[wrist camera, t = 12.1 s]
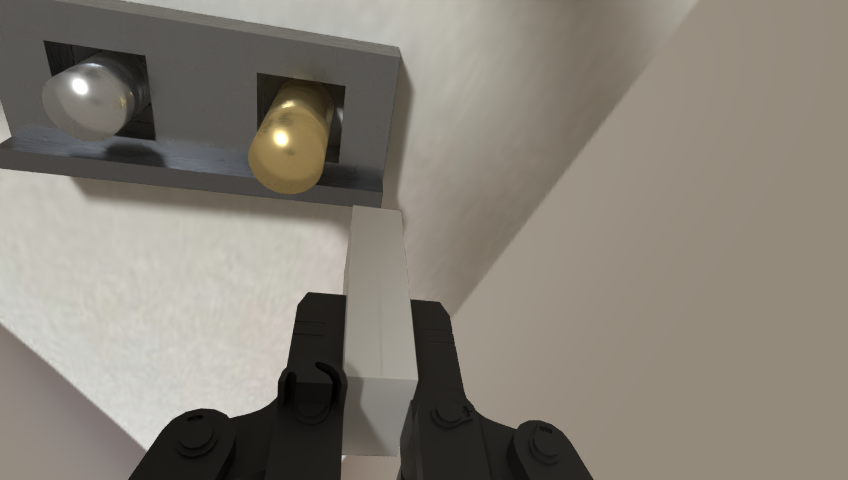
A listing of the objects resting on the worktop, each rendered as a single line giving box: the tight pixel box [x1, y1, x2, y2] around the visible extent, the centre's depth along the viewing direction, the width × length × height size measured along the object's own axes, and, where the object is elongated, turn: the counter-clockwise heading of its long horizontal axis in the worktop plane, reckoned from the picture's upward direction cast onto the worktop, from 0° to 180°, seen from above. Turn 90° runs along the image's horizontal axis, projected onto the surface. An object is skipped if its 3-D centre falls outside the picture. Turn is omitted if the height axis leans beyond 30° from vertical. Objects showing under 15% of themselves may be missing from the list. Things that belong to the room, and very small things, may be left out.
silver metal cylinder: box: [42, 50, 151, 142], centre depth 33 cm, size 4×4×6 cm
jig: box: [0, 0, 401, 208], centre depth 34 cm, size 11×26×5 cm, turn 80°
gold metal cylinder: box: [248, 78, 333, 194], centre depth 33 cm, size 4×4×10 cm
